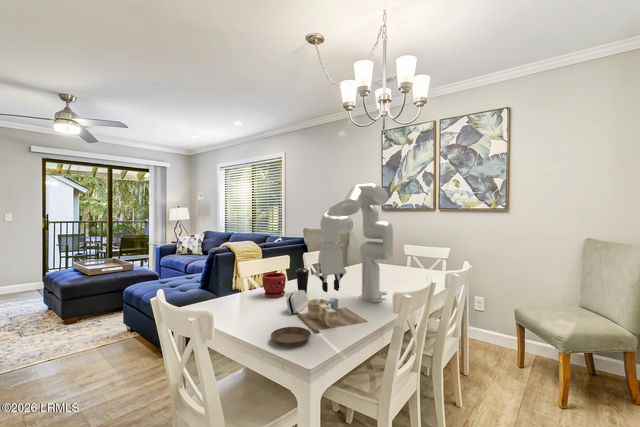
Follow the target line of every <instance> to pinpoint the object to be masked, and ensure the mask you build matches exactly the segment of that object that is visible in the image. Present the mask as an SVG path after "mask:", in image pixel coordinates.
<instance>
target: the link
mask: <svg viewBox="0 0 640 427" xmlns="http://www.w3.org/2000/svg"><path fill="white" fill-rule="evenodd" d="M315 299H316V298H313V299H310V300H309V299H308V306H307V313H308V316H309V317H311V318H316V319H320V320H321V321H323V322H324V323H325V324H326V325H327V326H329V327H335V328H337V327H336V326H337V312H336V311H335V310H333V309H332V308H331V306H329V304H328V301H329V300H327V299H324V298H323V299H322V298H319V299H320V303H319V304H318V303H315Z"/></svg>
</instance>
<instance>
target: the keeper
mask: <svg viewBox="0 0 640 427" xmlns="http://www.w3.org/2000/svg"><path fill="white" fill-rule="evenodd" d="M327 301H328V305H330V308H332V309H333V310H335V311H336V312H337V316H338V309H339V299H338V298H337V297H333V298H330V299H329V300H327Z"/></svg>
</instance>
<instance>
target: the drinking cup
mask: <svg viewBox="0 0 640 427" xmlns="http://www.w3.org/2000/svg"><path fill="white" fill-rule="evenodd" d="M295 272H296V283H297V291H298V290H304V291H305V293H306V295H307V294H308V293H307V292H308V286H309V285H308V283H309V272H310V269H307V268H305V267H304V259H302V260H301V267H300V268H298V269H296V270H295Z"/></svg>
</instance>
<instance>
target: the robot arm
mask: <svg viewBox="0 0 640 427" xmlns="http://www.w3.org/2000/svg"><path fill="white" fill-rule="evenodd" d="M388 196H389V195H388V192H387V190H386V189H385V188H383V187H382V186H380V185H378V184H375V183H360V184H355V185H353V186H352V187H351V188H350V189H349V191H348V192H347V195H346V196H345V198H344V199H343V200H341V201H339V202H338V203H335V204H333V205H332V206H330V207H329V208H327V210H326V211H325V212H324V214H323V216H321V219H320V223H319V225H320V229H321V249H319V253H318V257H317V258H318V259H317V268H316V271H315V272H314V276H316V278H317V279H318V278H319V280H320V281H321V289H322V291H323V292H325V293H328V287H329V283H328V282H327V281H328V280H327V279H328V276H330V275H333V276H334V280H333V290H335V291H337V292H338V291H340V290H339V289H340V281H341V279H342V278H343V277H344V276H345V275H346V274H347V270H346V269H345V266H344V258H343V257H344V256H343V252H342V249H341V247H343V246H344V244H343V243H342V242H341V234H348V233H350V232H351V231H352V230H353V227H354V222H353V219H352V218H351V217H349V216H352V215H354V214H357V213H358V212H359V211H360V210H361V212H362V235H363V237H364V238H365V239H369V240H368V241H363V242H361V243H360V247H359V252H360V258H361V260H360V261H361V295H359V296H358V299H359V300H361V301H365V302H370V303H372V304H373V303H374V304H376V303H380V302H382V301H383V296H387V295H388V292H387V291H382V290H380V284H381V283H380V271H381V269H380V266H379V263H378V262H377V260H378V261H390V260H392V258H393V256H394V229H393V225H392V224H391V222H389V221H380V220H379V219H380V218H379V217H380V215H379V213H380V212H379V210H378V208H377V207H376V206H385V205H386V204H387V202H388V200H389V197H388ZM373 240H375V241H373ZM376 240H382V241H376Z"/></svg>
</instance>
